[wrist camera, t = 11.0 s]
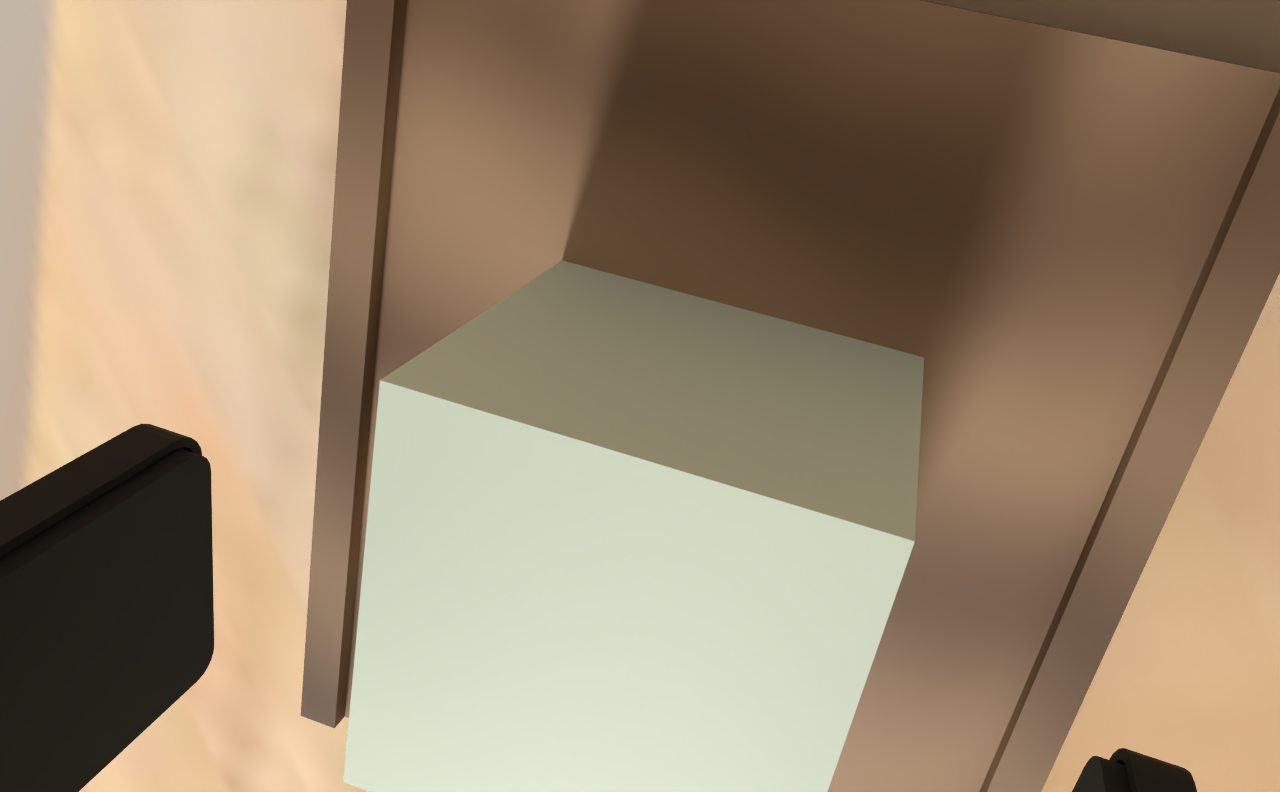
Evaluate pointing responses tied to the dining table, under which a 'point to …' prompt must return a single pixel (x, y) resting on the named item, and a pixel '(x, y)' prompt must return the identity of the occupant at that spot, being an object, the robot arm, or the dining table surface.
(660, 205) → the board
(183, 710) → the dining table surface
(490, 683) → the sage block
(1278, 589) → the dining table surface
